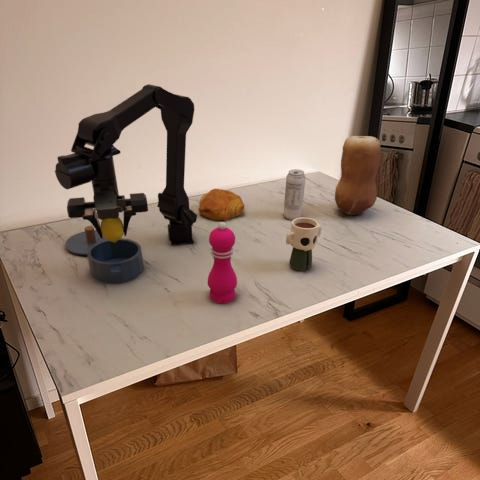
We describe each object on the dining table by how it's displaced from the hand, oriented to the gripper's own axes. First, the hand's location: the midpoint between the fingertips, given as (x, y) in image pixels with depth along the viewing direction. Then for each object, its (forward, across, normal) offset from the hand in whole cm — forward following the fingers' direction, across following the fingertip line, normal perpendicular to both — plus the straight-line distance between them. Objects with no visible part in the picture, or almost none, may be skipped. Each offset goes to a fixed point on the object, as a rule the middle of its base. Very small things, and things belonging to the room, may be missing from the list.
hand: (113, 236), depth 117 cm
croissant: (+10, +34, +31) cm, 47 cm away
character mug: (+10, +49, -8) cm, 50 cm away
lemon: (+2, 0, 0) cm, 2 cm away
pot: (+10, 0, 0) cm, 10 cm away
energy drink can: (+10, +57, +23) cm, 62 cm away
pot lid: (+9, -7, +16) cm, 20 cm away
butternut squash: (+11, +78, +22) cm, 81 cm away
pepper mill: (+10, +24, -18) cm, 32 cm away
